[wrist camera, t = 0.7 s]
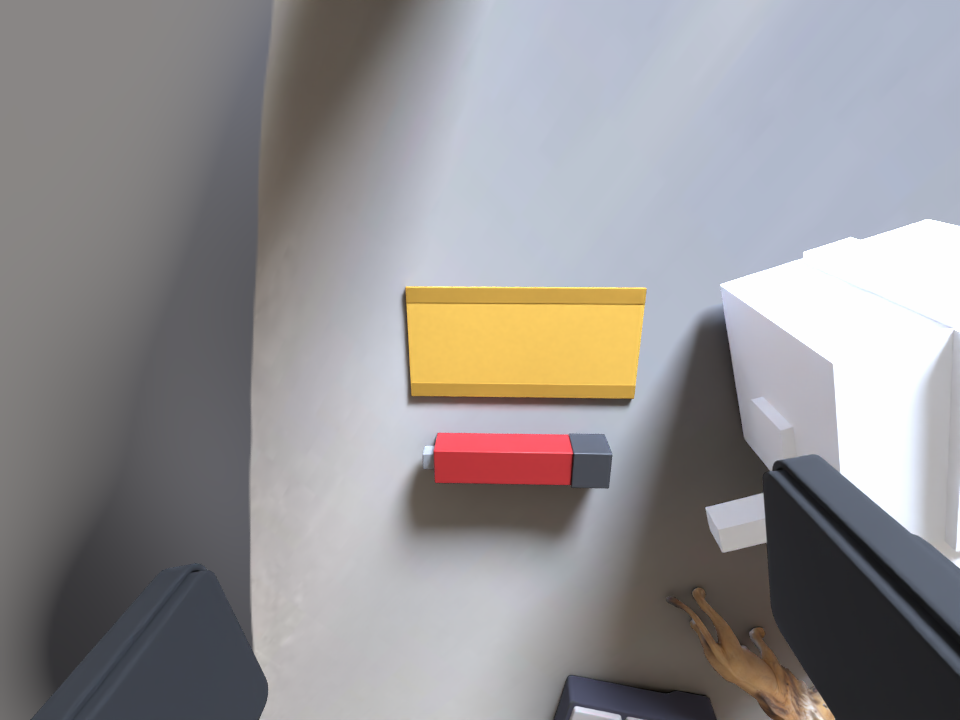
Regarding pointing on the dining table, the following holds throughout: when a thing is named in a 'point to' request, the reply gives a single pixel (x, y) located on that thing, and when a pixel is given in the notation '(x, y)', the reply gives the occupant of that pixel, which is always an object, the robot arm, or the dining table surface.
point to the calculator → (627, 703)
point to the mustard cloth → (524, 341)
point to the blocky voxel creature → (855, 376)
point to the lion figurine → (755, 668)
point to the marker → (520, 459)
